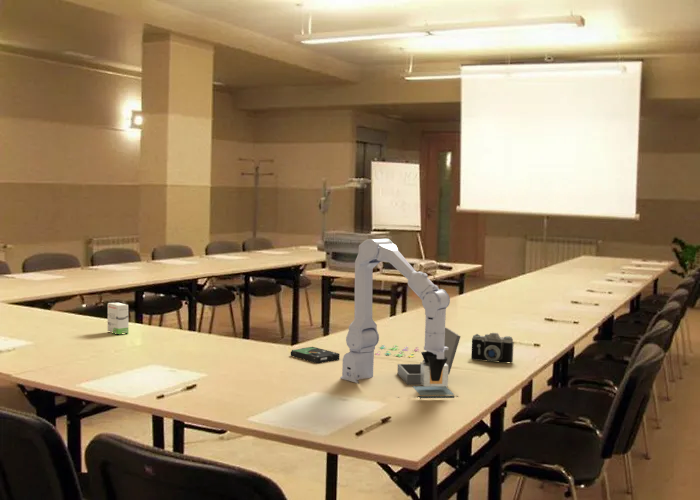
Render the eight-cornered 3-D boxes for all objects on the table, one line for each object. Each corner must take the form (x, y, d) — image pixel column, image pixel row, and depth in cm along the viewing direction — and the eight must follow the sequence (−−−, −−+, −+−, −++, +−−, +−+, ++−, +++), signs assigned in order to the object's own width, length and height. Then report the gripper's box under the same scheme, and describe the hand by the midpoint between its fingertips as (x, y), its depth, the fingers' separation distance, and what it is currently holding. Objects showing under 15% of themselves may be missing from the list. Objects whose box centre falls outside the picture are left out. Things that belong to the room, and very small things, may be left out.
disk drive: (340, 361, 263) (312, 353, 274) (340, 353, 263) (312, 345, 274) (317, 365, 256) (289, 357, 267) (317, 357, 256) (289, 349, 267)
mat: (420, 398, 215) (420, 394, 215) (412, 389, 225) (412, 386, 225) (454, 398, 216) (454, 394, 216) (444, 389, 226) (445, 385, 226)
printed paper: (432, 364, 262) (433, 359, 261) (347, 359, 267) (347, 355, 267) (440, 347, 291) (440, 343, 291) (362, 344, 297) (362, 340, 297)
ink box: (128, 334, 299) (129, 304, 298) (117, 335, 295) (117, 305, 295) (118, 331, 305) (118, 301, 304) (106, 332, 302) (106, 302, 301)
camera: (467, 360, 267) (468, 332, 267) (472, 357, 274) (473, 329, 273) (509, 365, 261) (510, 336, 261) (513, 361, 268) (515, 333, 267)
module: (424, 386, 218) (424, 365, 217) (420, 382, 222) (420, 362, 222) (447, 386, 219) (448, 365, 218) (443, 382, 223) (444, 362, 223)
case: (407, 387, 227) (408, 335, 226) (396, 375, 241) (398, 326, 240) (458, 387, 229) (460, 335, 228) (445, 375, 244) (447, 326, 243)
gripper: (455, 336, 213) (453, 384, 214) (441, 327, 227) (440, 372, 228) (431, 336, 212) (429, 384, 213) (418, 327, 226) (417, 372, 227)
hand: (433, 378), depth 220 cm, fingers closed on module, 4 cm apart
